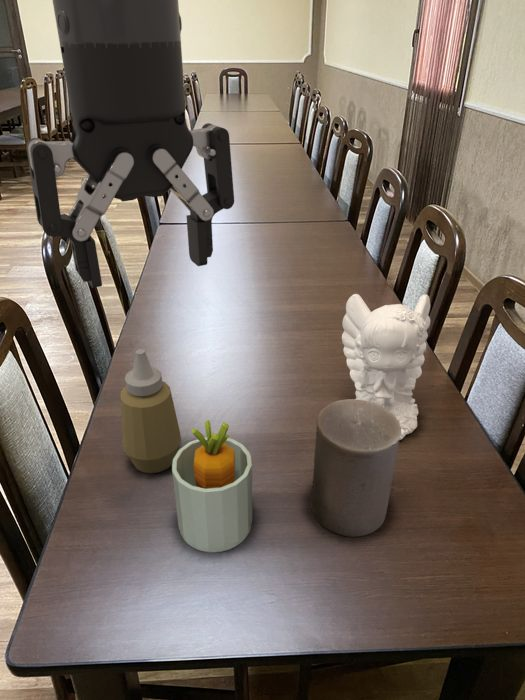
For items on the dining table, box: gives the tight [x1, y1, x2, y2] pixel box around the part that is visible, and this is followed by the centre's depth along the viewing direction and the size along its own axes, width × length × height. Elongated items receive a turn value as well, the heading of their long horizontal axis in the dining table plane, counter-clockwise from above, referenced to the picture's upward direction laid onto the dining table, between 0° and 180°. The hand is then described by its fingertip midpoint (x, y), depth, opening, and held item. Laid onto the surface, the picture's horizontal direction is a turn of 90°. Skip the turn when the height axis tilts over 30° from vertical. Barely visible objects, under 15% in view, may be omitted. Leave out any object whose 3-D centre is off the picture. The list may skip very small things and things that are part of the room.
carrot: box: [190, 419, 235, 489], centre depth 62 cm, size 5×5×15 cm
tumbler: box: [171, 436, 253, 553], centre depth 64 cm, size 9×9×10 cm
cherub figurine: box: [341, 293, 431, 441], centre depth 80 cm, size 13×12×20 cm
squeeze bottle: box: [120, 348, 182, 474], centre depth 71 cm, size 8×8×18 cm
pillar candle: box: [310, 398, 401, 538], centre depth 65 cm, size 10×10×15 cm
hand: (148, 272), depth 42 cm, fingers open, 8 cm apart
